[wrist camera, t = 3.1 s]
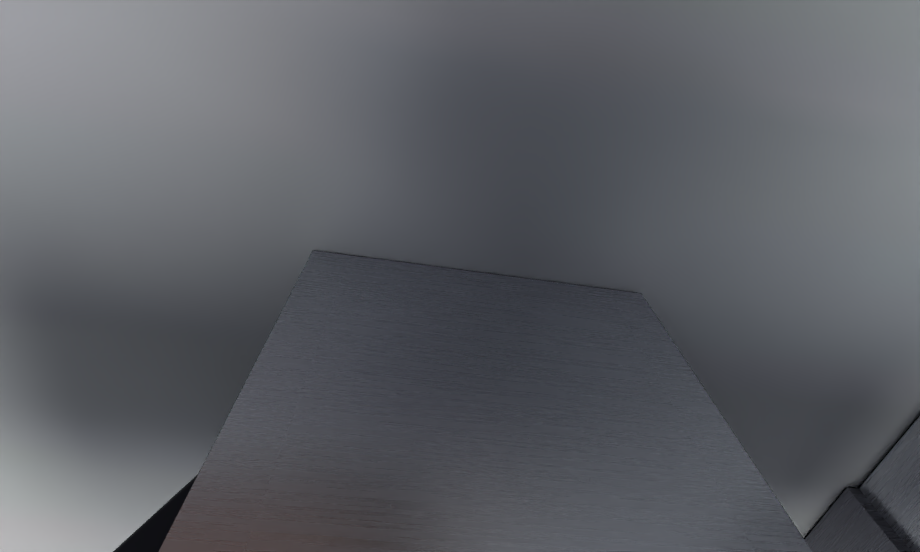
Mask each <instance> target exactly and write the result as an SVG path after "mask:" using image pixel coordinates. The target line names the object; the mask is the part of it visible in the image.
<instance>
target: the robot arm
mask: <svg viewBox="0 0 920 552" xmlns="http://www.w3.org/2000/svg"><path fill="white" fill-rule="evenodd" d="M197 476H198V475H197ZM197 476H196V477H194V478H193V479H192V480H191V481H190V482H189V483H188V484H187V485H186V486H185V487H183V488H182V489H181V490H180V491H179V492H178V493H177V494H176V495H175V496H174V497H173V498H171V499H170V500H169V501H168V502H167V503H166V504H165V505H164V506H163V507H162V508H160V509H159V510H158V511H157V512H156V513H155V514H154V515H153V516H152V517H151V518H150V519H148V520H147V521H146V522H145V523H144V524H143V525H142V526H141V527H140V528H139V529H137V530H136V531H135V532H134V533H133V534H132V535H131V536H130V537H129V538H128V539H127V540H125V541H124V542H123V543H122V544H121V545H120V546H119V547H118V548H117V549H116V550H114V551H113V552H159V550H160V548H161V546H162V544H163V542H164V540H165V538H166V536H167V534H168V532H169V530H170V528H171V526H172V525H173V523H174V521H175V519H176V517H177V515H178V513H179V511H180V509H181V507H182V505H183V503H184V501H185V499H186V497H187V495H188V493H189V491H190V489H191V487H192V485H193V483H194V482H195V480H196V478H197Z"/></svg>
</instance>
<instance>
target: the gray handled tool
mask: <svg viewBox="0 0 920 552" xmlns="http://www.w3.org/2000/svg"><path fill="white" fill-rule="evenodd" d="M805 542H806V543H807V545H808V546H809V548H810V549H811V551H812V552H920V416H919V418H918V419H917V420H916V421H915V422H914V424H913V425H912V426H911V427H910V428H909V429H908V431H907V432H906V433H905V434H904V435H903V437H902V438H901V439H900V440H899V441H898V443H897V444H896V445H895V446H894V447H893V449H892V450H891V451H890V452H889V453H888V455H887V456H886V457H885V458H884V459H883V461H882V462H881V463H880V464H879V465H878V466H877V468H876V469H875V470H874V471H873V472H872V474H871V475H870V476H869V477H868V478H867V480H866V481H865V482H864V483H863V484H862V486H861V487H860V488H859V489H857V488H846V489H845V491H844V492H843V493H842V494H841V496H840V497H839V498H838V499H837V500H836V502H835V503H834V504H833V505H832V507H831V508H830V509H829V510H828V511H827V513H826V514H825V515H824V516H823V518H822V519H821V520H820V521H819V522H818V524H817V525H816V526H815V527H814V529H813V530H812V531H811V532H810V533H809V535H808V536H807V537H806V538H805Z"/></svg>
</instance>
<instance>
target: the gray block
mask: <svg viewBox="0 0 920 552" xmlns="http://www.w3.org/2000/svg"><path fill="white" fill-rule="evenodd" d="M159 552H812V551H811V549H810V548H809V546H808V545H807V543H806V542H805V540H804V539H803V537H802V536H801V534H800V532H799V531H798V529H797V528H796V526H795V525H794V523H793V522H792V520H791V519H790V517H789V516H788V514H787V513H786V511H785V510H784V508H783V507H782V505H781V504H780V502H779V501H778V499H777V498H776V496H775V495H774V493H773V492H772V490H771V489H770V487H769V486H768V484H767V483H766V481H765V480H764V478H763V477H762V475H761V474H760V472H759V471H758V469H757V468H756V466H755V465H754V463H753V462H752V460H751V458H750V457H749V455H748V454H747V452H746V451H745V449H744V448H743V446H742V445H741V443H740V442H739V440H738V439H737V437H736V436H735V434H734V433H733V431H732V430H731V428H730V427H729V425H728V424H727V422H726V421H725V419H724V418H723V416H722V415H721V413H720V412H719V410H718V409H717V407H716V406H715V404H714V403H713V401H712V400H711V398H710V397H709V395H708V394H707V392H706V391H705V389H704V388H703V386H702V384H701V383H700V381H699V380H698V378H697V377H696V375H695V374H694V372H693V371H692V369H691V368H690V366H689V365H688V363H687V362H686V360H685V359H684V357H683V356H682V354H681V353H680V351H679V350H678V348H677V347H676V345H675V344H674V342H673V341H672V339H671V338H670V336H669V335H668V333H667V332H666V330H665V329H664V327H663V326H662V324H661V323H660V321H659V320H658V318H657V317H656V315H655V313H654V312H653V310H652V309H651V307H650V306H649V304H648V303H647V301H646V300H645V298H644V297H643V295H642V294H641V293H634V292H626V291H618V290H611V289H603V288H595V287H588V286H580V285H572V284H565V283H557V282H550V281H542V280H534V279H527V278H519V277H511V276H504V275H496V274H489V273H481V272H473V271H466V270H458V269H450V268H443V267H435V266H428V265H420V264H412V263H405V262H397V261H389V260H382V259H374V258H367V257H359V256H351V255H344V254H336V253H328V252H321V251H312V253H311V255H310V257H309V259H308V261H307V263H306V265H305V267H304V269H303V271H302V273H301V274H300V276H299V278H298V280H297V282H296V284H295V286H294V288H293V290H292V292H291V294H290V296H289V298H288V300H287V302H286V304H285V306H284V308H283V310H282V312H281V314H280V315H279V317H278V319H277V321H276V323H275V325H274V327H273V329H272V331H271V333H270V335H269V337H268V339H267V341H266V343H265V345H264V347H263V349H262V351H261V353H260V355H259V357H258V358H257V360H256V362H255V364H254V366H253V368H252V370H251V372H250V374H249V376H248V378H247V380H246V382H245V384H244V386H243V388H242V390H241V392H240V394H239V396H238V398H237V399H236V401H235V403H234V405H233V407H232V409H231V411H230V413H229V415H228V417H227V419H226V421H225V423H224V425H223V427H222V429H221V431H220V433H219V435H218V437H217V439H216V441H215V442H214V444H213V446H212V448H211V450H210V452H209V454H208V456H207V458H206V460H205V462H204V464H203V466H202V468H201V470H200V472H199V474H198V476H197V478H196V480H195V482H194V483H193V485H192V487H191V489H190V491H189V493H188V495H187V497H186V499H185V501H184V503H183V505H182V507H181V509H180V511H179V513H178V515H177V517H176V519H175V521H174V523H173V525H172V526H171V528H170V530H169V532H168V534H167V536H166V538H165V540H164V542H163V544H162V546H161V548H160V550H159Z"/></svg>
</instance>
